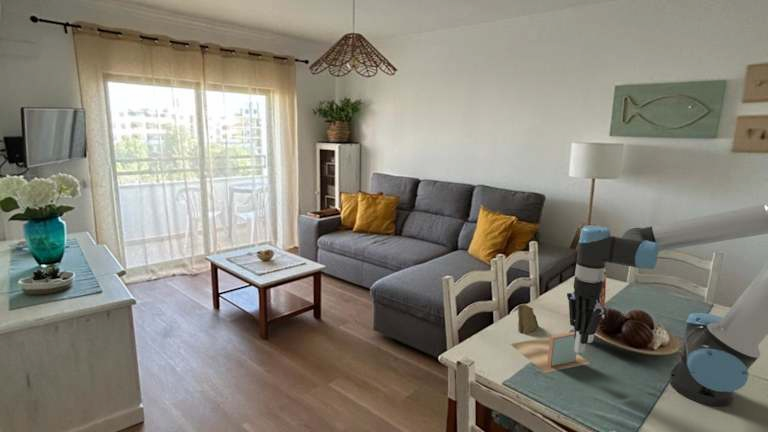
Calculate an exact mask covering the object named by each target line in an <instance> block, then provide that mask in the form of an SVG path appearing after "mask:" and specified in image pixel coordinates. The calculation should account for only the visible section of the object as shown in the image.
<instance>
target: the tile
mask: <svg viewBox="0 0 768 432" xmlns="http://www.w3.org/2000/svg"><path fill="white" fill-rule="evenodd" d="M574 335H575V330H574V331H570V332H564V333H558V334H554V335H549V337H550V343H549V352H548V361H547V364H548V365H549V366H550V367H551V366H556V365H561V364H566V363H571V362H576V355H577V354H578V353H576V352H575V351H574V346H575V339H574Z"/></svg>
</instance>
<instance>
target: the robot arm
mask: <svg viewBox="0 0 768 432" xmlns="http://www.w3.org/2000/svg"><path fill="white" fill-rule="evenodd" d="M767 234H768V199H766V201H765V202H764V203H763V204H758V205H754V206H750V207H749V206H747V207H744V208H739V209H737V208H736V209H733V210H728V211H723V212H718V213H713V214H708V215H702V216H697V217H693V218H687V219H683V220H678V221H672V222H668V223H662V224H656V225H652V226H647V227H637V226H635V227H631V228H629V229H627V230H626V231H625V232H624V233H623V234H622V235H621V237H620V236H614V235H611V231H610V229H609V228H608V227H605V226H600V225H592V224H591V225H584V226H583V227H582V228H581V229H580V233H579V240H578V245H577V246H578V247H577V254H576V255H577V256H576V265H575V272H574V276H575V277H574V281H573V292H569V293H566V297H567V300H568V309H569V313H568V314H569V324H570V326H572V327H573V328H574V331H575V335H574V339H575V346H574V351H575V352H576V353H577V354H581V353H585V352H586V346H587V345H586V344H588V343H587V342H588V335H592V334H594V335H596V332H597V329H598V327H599V325H600V322H601V320H602V317H603V315H604V314H605V313H606V312H607V309H606V307H605V308H602V307H601V305H600V304H599V303H600V300H599V295H600V294H601V292H602V286H603V282H602V280H603V277H604V270H606V263H610V264H617V265H621V266H626V267H633V268H638V269H641V270H642V269H643V270H644V269H645V270H654V269H655V268H657V262H658V256H659V253H660V252H662V251H663V252H664V251H669V250H677V249H681V248H689V247H693V246H700V245H705V244H713V243H717V242H718V243H719V242H725V241H731V240H736V239H742V238H748V237H755V236H762V235H767ZM685 322H686V327H685V332H684V338H683V342H682V343H683V344H682V348H681V353H680V358H679V359H678V361H677V362H676V364H675V365H674V367H673V368H672V370H671V371H670V373H669V377H668V378H669V379H668V382H669V385H670V386H671V387H672V388H673V390H675V391H676V392H677V393H679V394H681V395H682V396H684V397H686V398H687V399H689V400H690V399H691V400H692V401H693V402H694V401H695V402H697V403H700V404H704V405H708V406H714V407H726V406H730V405H731V404H732V403H733V401H734V396H735V391H738V390H740V389H742V388H744V387H745V385H746V384H747V382H748V379H749V376H750V375H749V369H750V368H751V367H752V365H754V363H755V362H756V361H757V360H758V359H759V358H760V356H761V352H760V348H759V345H760V343H762V341H763V340H764V339H765V338H766V337H767V336H768V262H766V264H765V265H764V266H763V268H762V269H761V270H760V272H759V273H758V274H757V275H756V276H755V278H754V279H753V280H752V282H750V284H749V285H748V286H747V288H745V290H744V292H743V293H742V294H741V295H739V297H738V298H737V300H736V301H735V302H734V304H733V305H732V306H731V307H730V308H729V310H728V311H727V312H726V313H725V314H724V315H723V316H720V315H716V314H712V313H711V314H710V313H705V312H692V313H690V314H689V315H688V317H687V319H686V321H685Z"/></svg>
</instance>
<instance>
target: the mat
mask: <svg viewBox="0 0 768 432" xmlns="http://www.w3.org/2000/svg"><path fill="white" fill-rule="evenodd" d="M549 343H550V336H548V337H542V338H538V339H537V338H536V339H530V340H525V341H519V342H513V343H510V346H512V347H513V348H514V349H515V350H516V351H518V352H519V354H521V355H522V356H523V357H525V358H526V359H527V360H528V361H529V362H530V363H532V364H533V365H535V366H536V367H537V368H538V369H540V371H542V372H543V373H544V374H545V373H546V374H547V373H551V372H552V373H553V372H555V371H560V370H564V369H565V370H566V369H569V368H575V367H579V366H584V365H589V364H591V362H590V361H589V360H587V359H585V358H584V357H582V356H581V355H579V353H577V355H576V362H571V363H566V364H561V365H556V366H551V367H550V366H549V365H548V364H547V361H548V352H549Z"/></svg>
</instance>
